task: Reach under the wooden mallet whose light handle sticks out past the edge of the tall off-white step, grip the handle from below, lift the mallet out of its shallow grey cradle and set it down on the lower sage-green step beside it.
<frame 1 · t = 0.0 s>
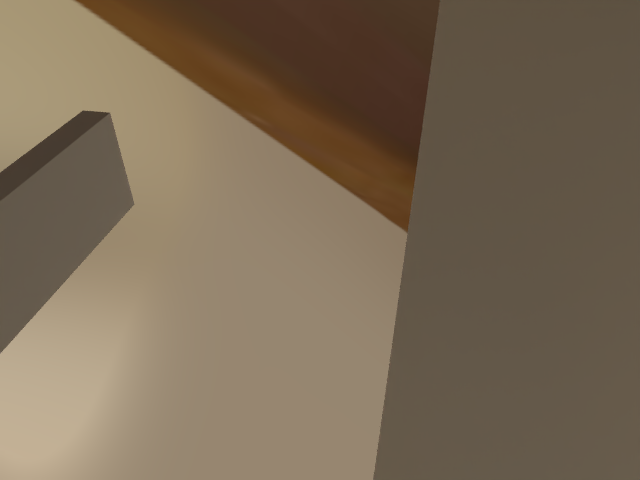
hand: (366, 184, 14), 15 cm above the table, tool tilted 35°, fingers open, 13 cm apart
stepped plinth: (597, 84, 33), on the table
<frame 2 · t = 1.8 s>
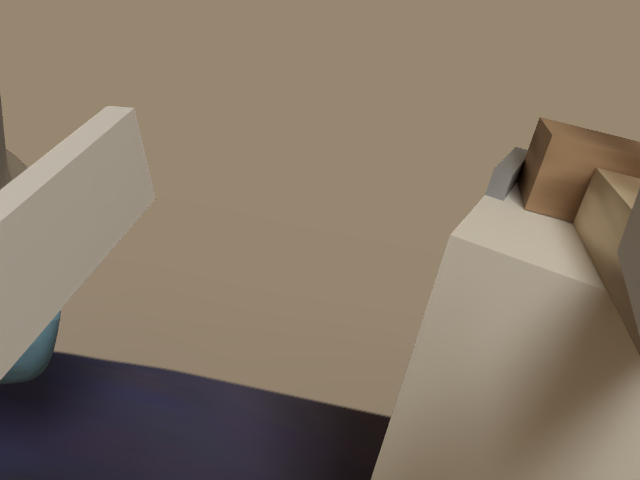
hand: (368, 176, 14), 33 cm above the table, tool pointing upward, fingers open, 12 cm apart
mallet: (592, 213, 32), point 29 cm above the table, touching stepped plinth
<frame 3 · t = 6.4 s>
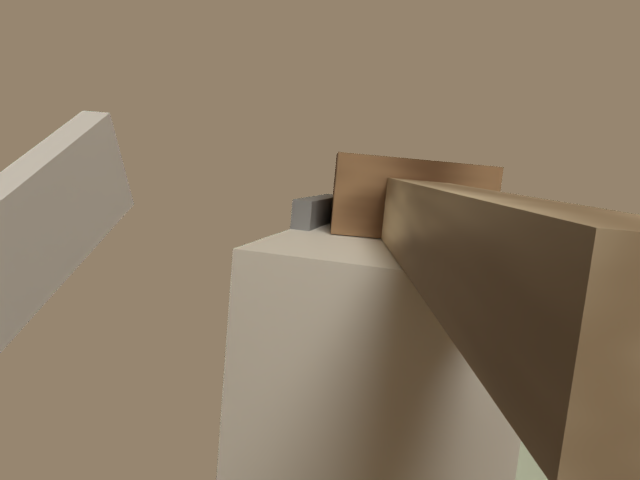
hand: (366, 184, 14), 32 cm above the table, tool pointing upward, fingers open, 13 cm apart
mallet: (403, 233, 31), point 29 cm above the table, touching gripper, stepped plinth
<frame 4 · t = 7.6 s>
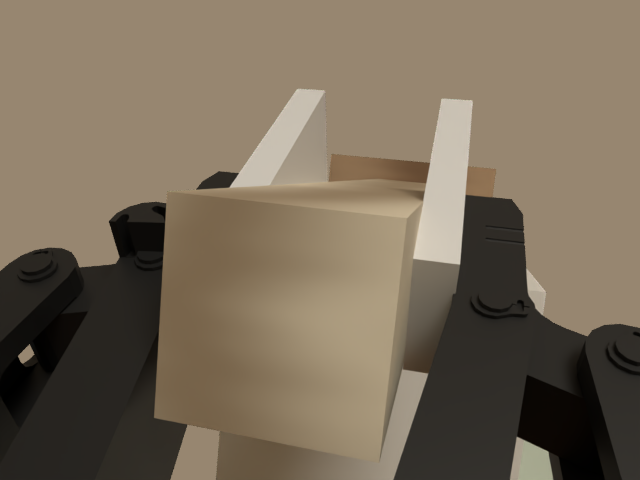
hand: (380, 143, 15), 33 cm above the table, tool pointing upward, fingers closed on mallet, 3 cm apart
mallet: (406, 235, 32), point 29 cm above the table, touching gripper
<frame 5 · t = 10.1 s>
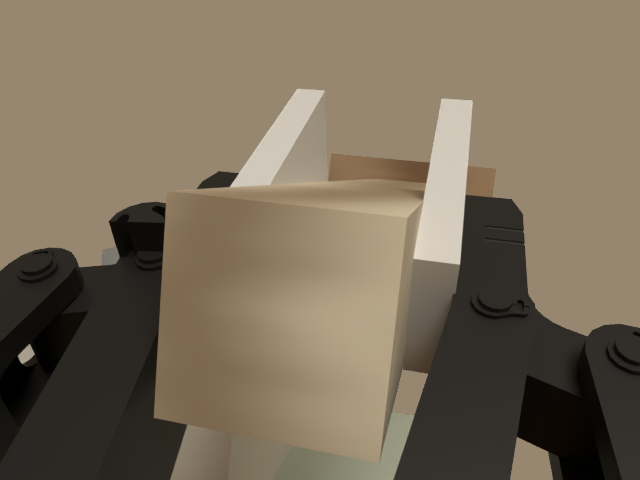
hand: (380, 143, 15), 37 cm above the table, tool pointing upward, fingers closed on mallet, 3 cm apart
mallet: (406, 235, 32), point 33 cm above the table, touching gripper
when the fingers open (26 cm above the table, at t = 12.8 s): mallet drops 1 cm, resting on stepped plinth.
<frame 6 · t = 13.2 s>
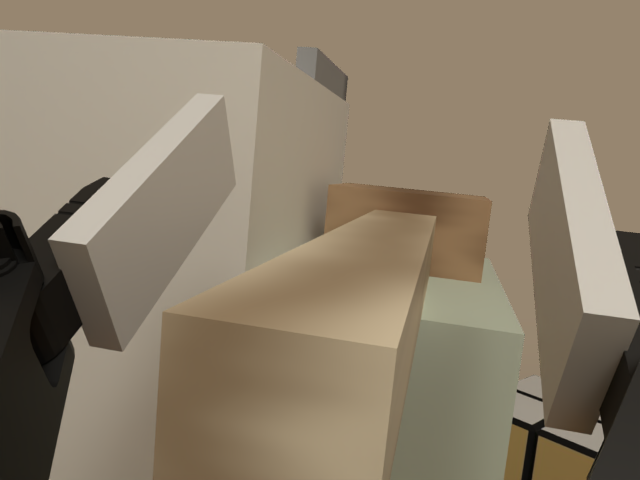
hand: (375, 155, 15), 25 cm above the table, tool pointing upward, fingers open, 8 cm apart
mallet: (403, 263, 32), point 20 cm above the table, touching stepped plinth
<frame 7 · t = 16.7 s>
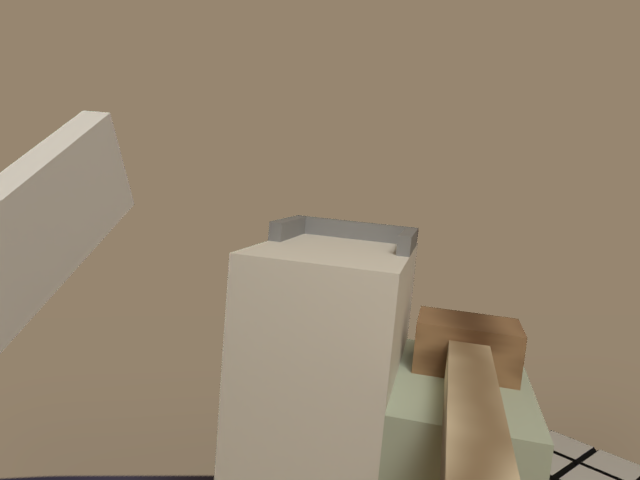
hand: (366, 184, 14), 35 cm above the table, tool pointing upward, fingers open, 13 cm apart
mallet: (463, 368, 46), point 20 cm above the table, touching stepped plinth
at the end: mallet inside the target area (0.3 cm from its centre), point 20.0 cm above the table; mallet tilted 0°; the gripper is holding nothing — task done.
